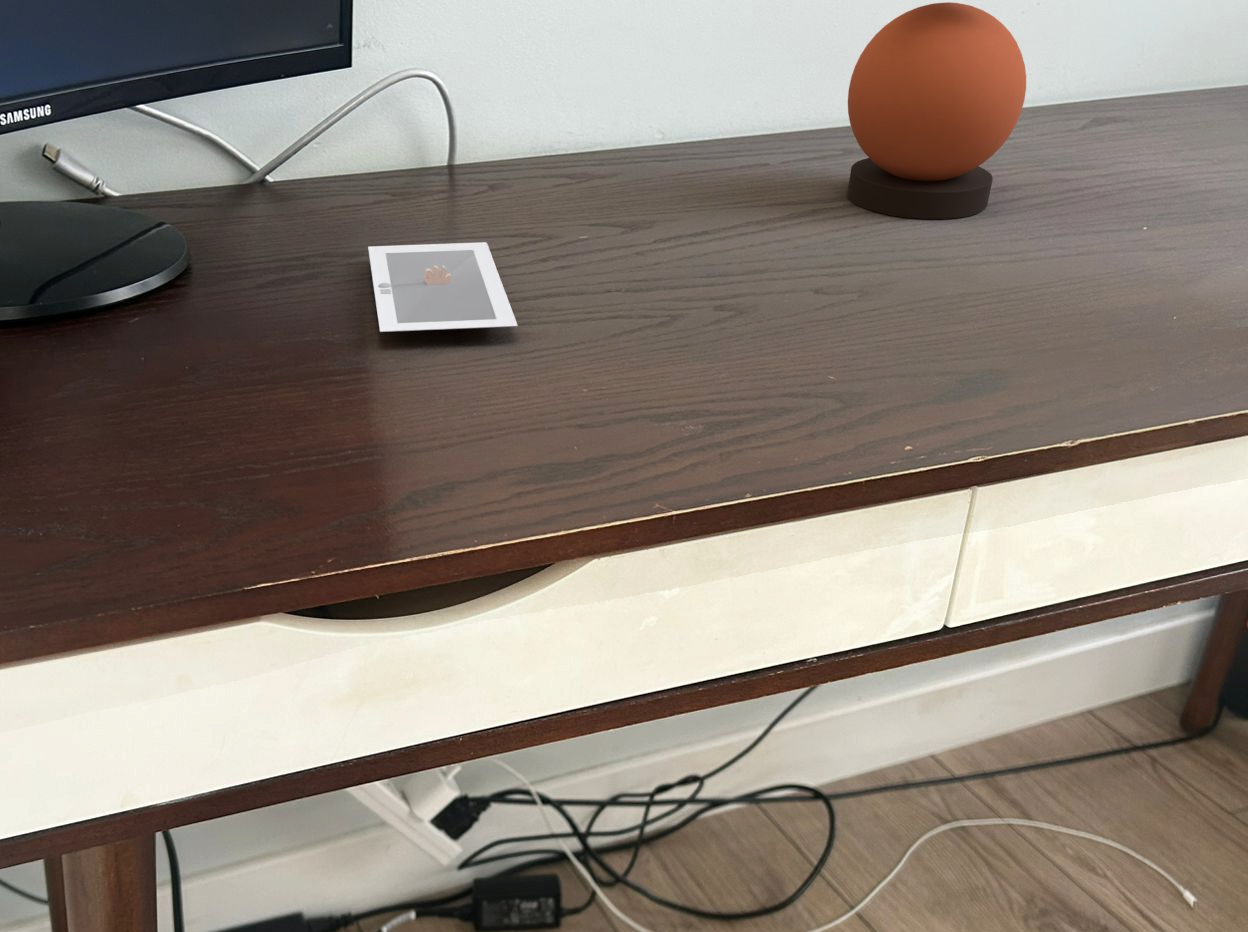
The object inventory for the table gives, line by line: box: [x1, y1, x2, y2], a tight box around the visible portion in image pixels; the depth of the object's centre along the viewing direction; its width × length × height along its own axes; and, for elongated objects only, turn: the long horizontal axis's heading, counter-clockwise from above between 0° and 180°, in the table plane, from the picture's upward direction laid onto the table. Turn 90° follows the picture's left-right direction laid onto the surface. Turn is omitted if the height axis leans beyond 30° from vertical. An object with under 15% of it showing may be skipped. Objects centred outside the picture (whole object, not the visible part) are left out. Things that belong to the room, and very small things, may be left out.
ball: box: [846, 1, 1027, 220], centre depth 98 cm, size 12×12×14 cm
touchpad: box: [367, 241, 519, 333], centre depth 84 cm, size 8×15×2 cm, turn 5°
